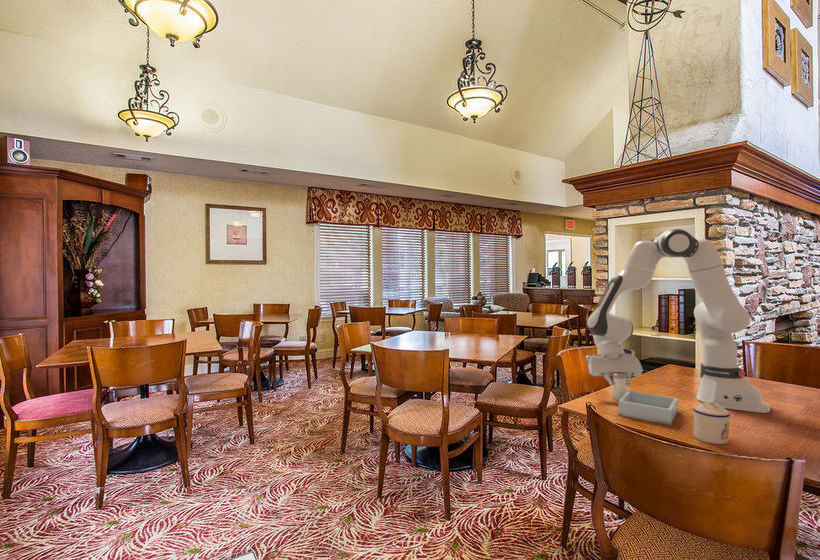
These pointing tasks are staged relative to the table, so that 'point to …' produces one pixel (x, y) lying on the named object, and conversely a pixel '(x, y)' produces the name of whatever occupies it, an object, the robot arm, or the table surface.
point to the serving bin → (648, 407)
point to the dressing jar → (619, 385)
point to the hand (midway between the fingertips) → (620, 384)
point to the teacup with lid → (711, 423)
